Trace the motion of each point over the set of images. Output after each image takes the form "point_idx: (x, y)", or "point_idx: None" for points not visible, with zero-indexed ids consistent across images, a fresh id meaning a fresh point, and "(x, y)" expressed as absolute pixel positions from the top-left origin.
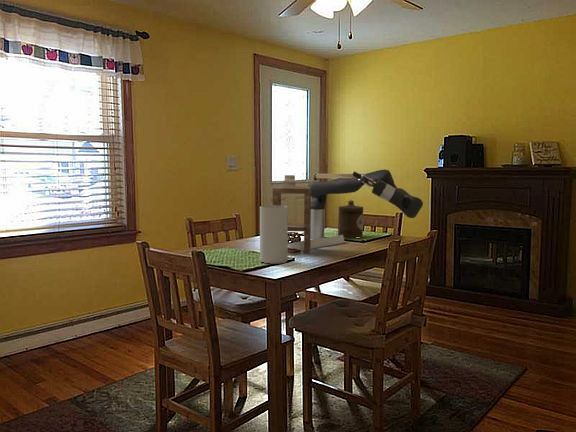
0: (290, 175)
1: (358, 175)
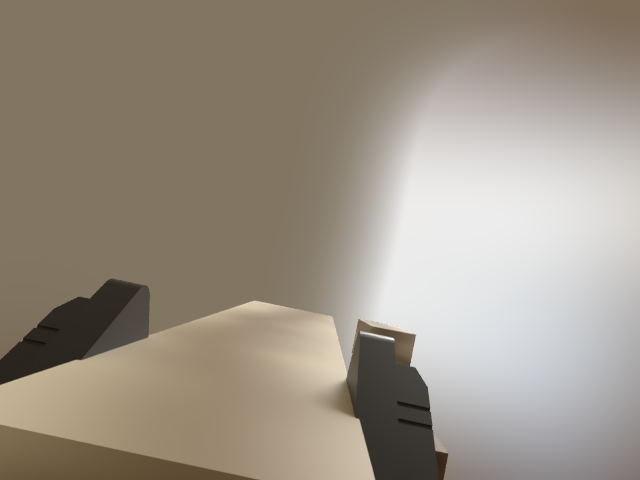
0: (365, 322)
1: (4, 382)
